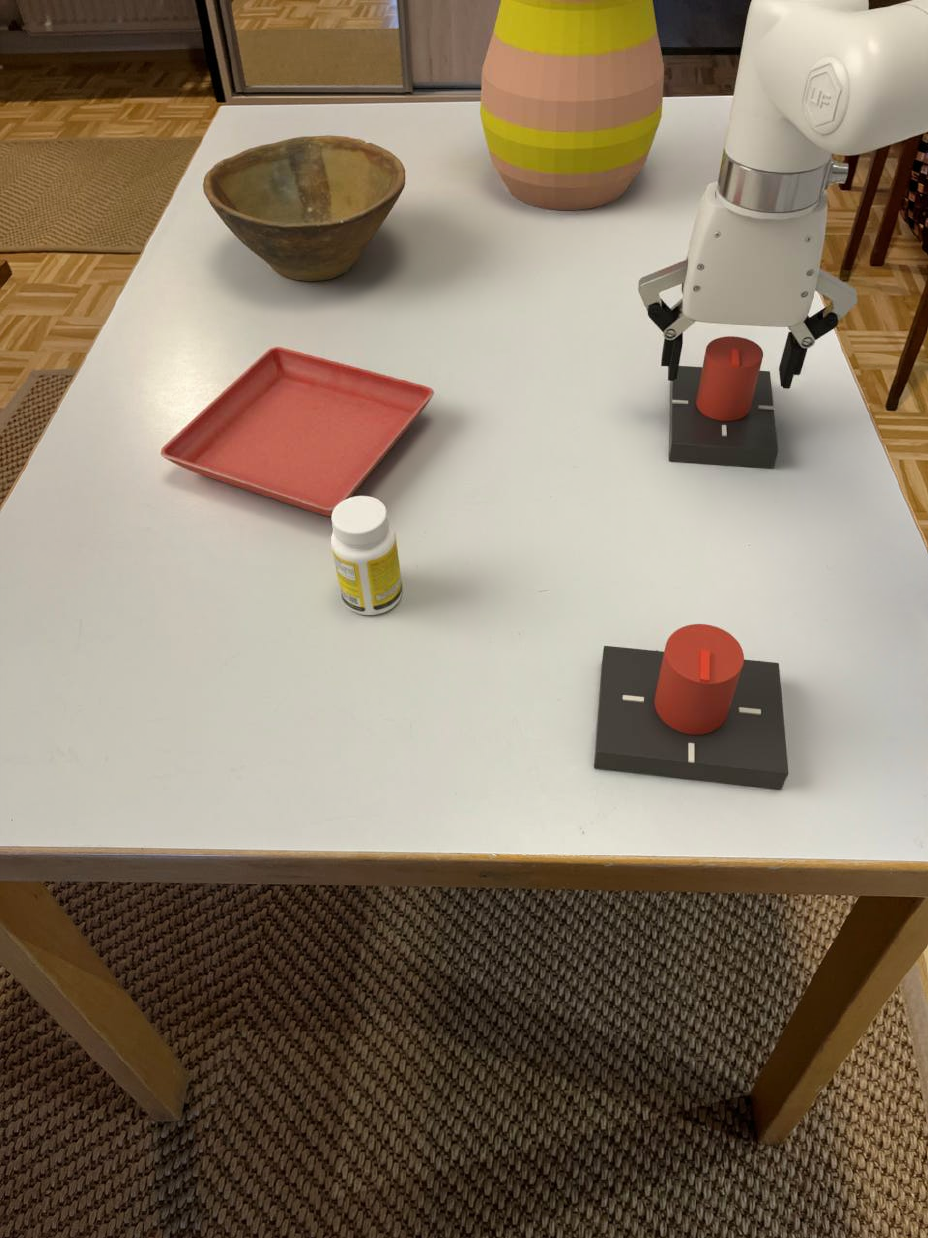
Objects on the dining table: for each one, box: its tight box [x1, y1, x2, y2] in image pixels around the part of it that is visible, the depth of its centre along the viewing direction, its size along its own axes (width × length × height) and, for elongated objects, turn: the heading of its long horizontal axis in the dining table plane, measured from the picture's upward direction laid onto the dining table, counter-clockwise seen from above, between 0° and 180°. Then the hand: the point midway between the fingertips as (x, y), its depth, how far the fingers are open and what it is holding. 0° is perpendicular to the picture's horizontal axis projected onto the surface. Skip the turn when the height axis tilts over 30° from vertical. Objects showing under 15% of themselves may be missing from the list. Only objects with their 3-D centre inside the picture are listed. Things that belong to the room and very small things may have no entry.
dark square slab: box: [668, 365, 779, 470], centre depth 84 cm, size 12×9×2 cm
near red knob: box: [655, 623, 745, 735], centre depth 59 cm, size 5×5×6 cm
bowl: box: [202, 134, 406, 282], centre depth 103 cm, size 22×23×10 cm
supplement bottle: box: [330, 495, 403, 616], centre depth 69 cm, size 5×5×8 cm
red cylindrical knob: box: [696, 335, 764, 421], centre depth 81 cm, size 5×5×6 cm
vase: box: [479, 0, 665, 211], centre depth 107 cm, size 22×22×30 cm
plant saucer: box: [160, 346, 435, 517], centre depth 83 cm, size 18×18×3 cm
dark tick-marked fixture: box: [593, 645, 789, 791], centre depth 62 cm, size 12×9×2 cm
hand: (727, 375), depth 81 cm, fingers open, 9 cm apart
